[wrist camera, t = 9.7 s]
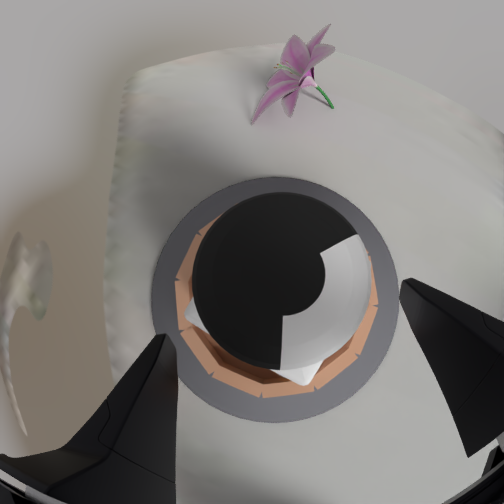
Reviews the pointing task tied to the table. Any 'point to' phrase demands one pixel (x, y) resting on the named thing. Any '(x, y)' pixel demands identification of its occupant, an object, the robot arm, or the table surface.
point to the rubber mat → (261, 407)
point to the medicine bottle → (281, 283)
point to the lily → (295, 73)
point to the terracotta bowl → (249, 375)
